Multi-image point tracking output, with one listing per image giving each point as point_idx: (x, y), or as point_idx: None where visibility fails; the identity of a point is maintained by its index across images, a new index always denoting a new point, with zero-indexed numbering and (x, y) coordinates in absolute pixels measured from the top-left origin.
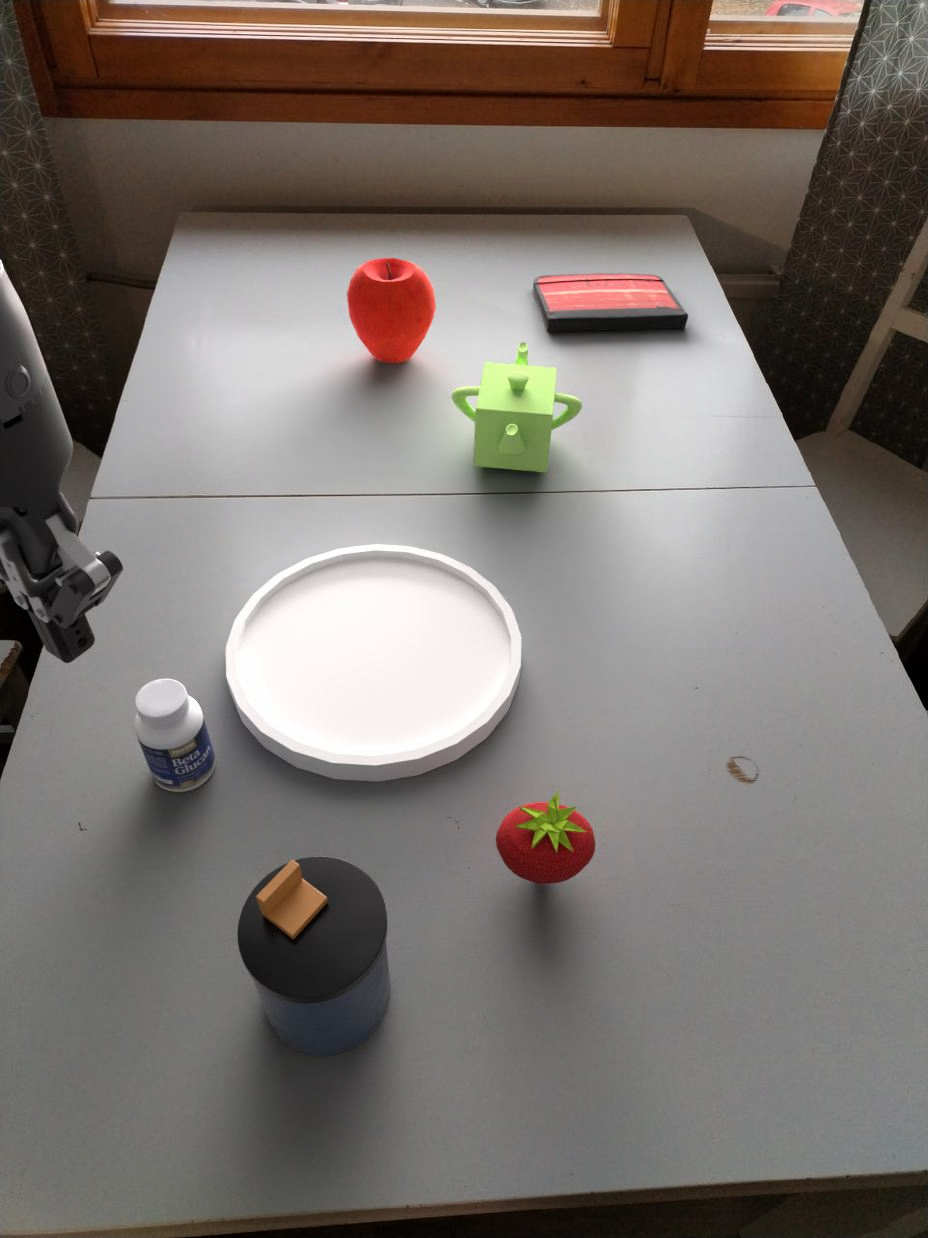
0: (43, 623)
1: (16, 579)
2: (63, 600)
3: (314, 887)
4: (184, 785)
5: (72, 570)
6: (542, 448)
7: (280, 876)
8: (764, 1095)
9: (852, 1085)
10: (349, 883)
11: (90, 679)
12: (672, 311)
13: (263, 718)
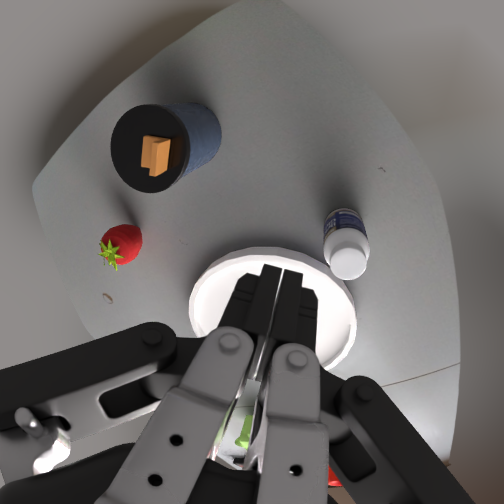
0: (252, 322)
1: (164, 438)
2: (58, 379)
3: None
4: (332, 214)
5: (24, 434)
6: (246, 425)
7: (154, 162)
8: (55, 183)
9: (43, 198)
10: (141, 181)
11: (428, 264)
12: (239, 464)
13: (305, 270)
